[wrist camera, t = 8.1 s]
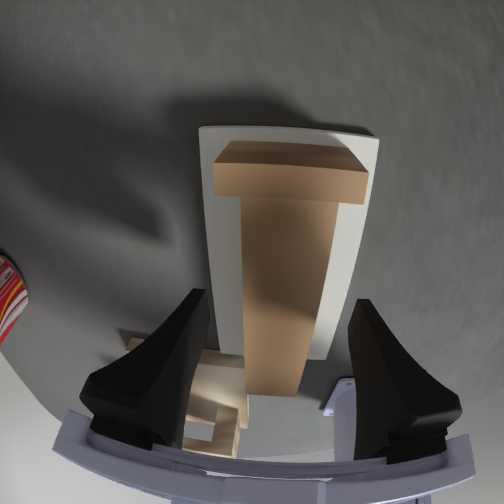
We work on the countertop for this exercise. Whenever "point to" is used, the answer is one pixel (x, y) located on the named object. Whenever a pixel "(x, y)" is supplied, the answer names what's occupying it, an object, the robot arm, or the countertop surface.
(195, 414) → the block
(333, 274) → the felt pad
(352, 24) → the countertop surface
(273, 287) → the pin
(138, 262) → the countertop surface
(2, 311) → the soda can
